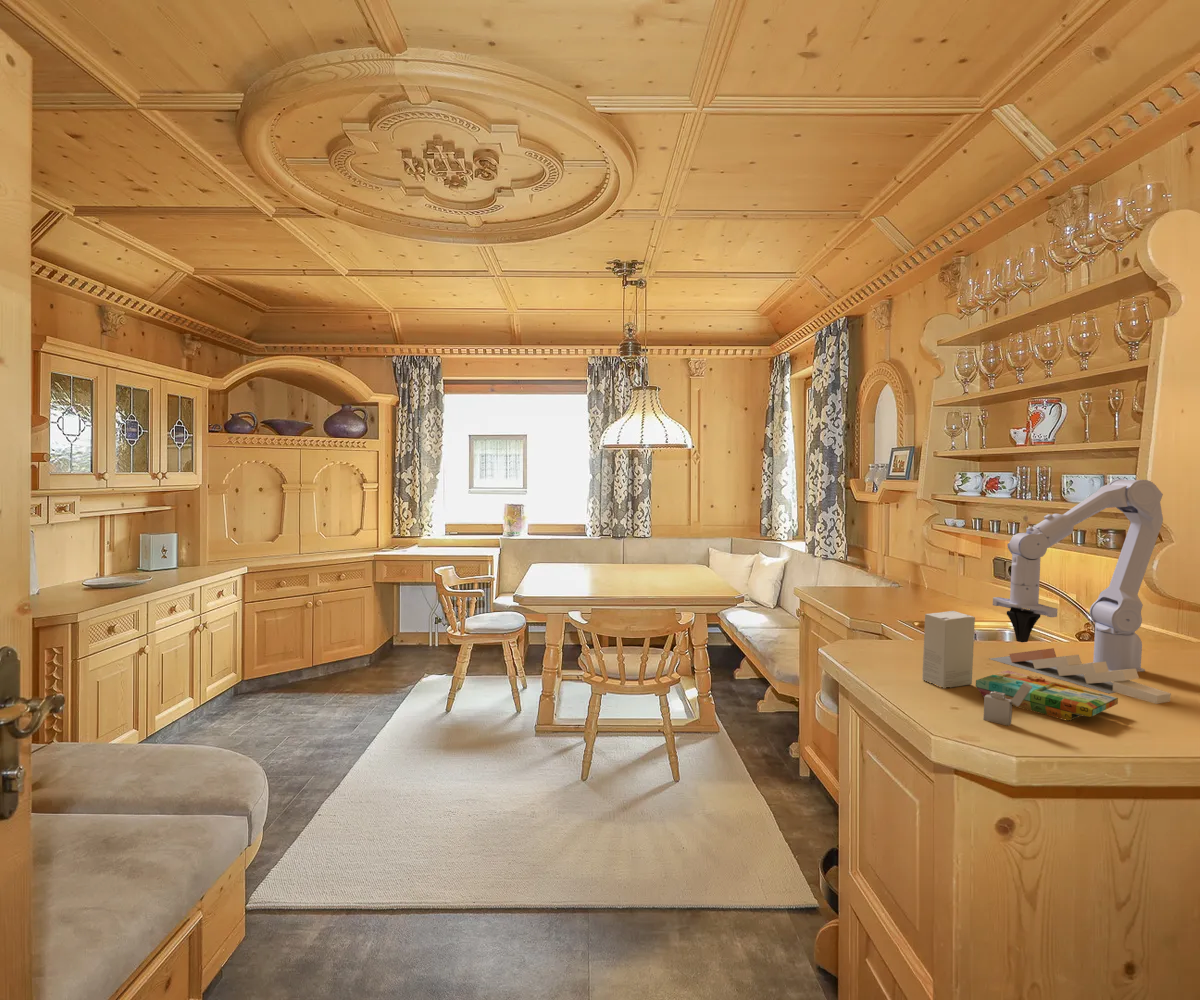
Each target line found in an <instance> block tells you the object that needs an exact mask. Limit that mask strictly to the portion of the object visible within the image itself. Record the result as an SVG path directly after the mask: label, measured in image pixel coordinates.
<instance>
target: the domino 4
mask: <svg viewBox="0 0 1200 1000" xmlns="http://www.w3.org/2000/svg"><path fill="white" fill-rule="evenodd" d="M1084 677H1085V680H1086V683H1087V684H1091V683H1102V682H1114V681H1126V680H1130V681H1133V680H1138V679H1140V677H1139V674H1138V672H1137V671H1136V668H1135V669H1125V670H1115V671H1106V672H1099V673H1090V674H1084Z"/></svg>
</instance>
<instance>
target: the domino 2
mask: <svg viewBox="0 0 1200 1000" xmlns="http://www.w3.org/2000/svg"><path fill="white" fill-rule="evenodd" d="M1081 660H1082V659H1081V657H1080V654H1071V655H1064V656H1063V655H1062V656H1056V657H1054V658H1046V659H1038V660H1032V662H1033V665H1034V668H1035V669H1040V668H1050V667H1059V666H1068V665H1076V664H1083V663H1082V661H1081Z"/></svg>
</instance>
